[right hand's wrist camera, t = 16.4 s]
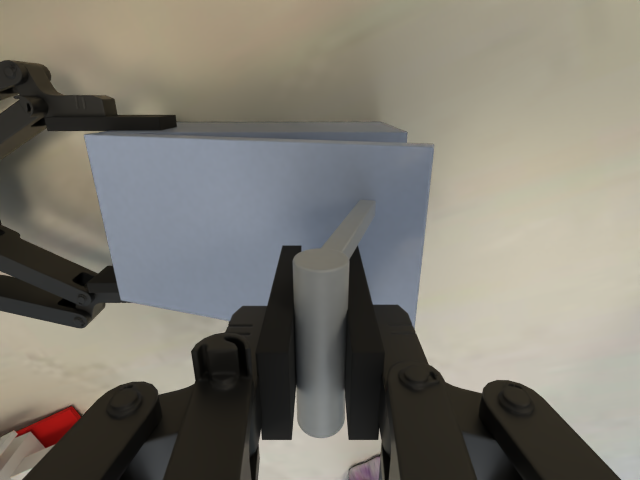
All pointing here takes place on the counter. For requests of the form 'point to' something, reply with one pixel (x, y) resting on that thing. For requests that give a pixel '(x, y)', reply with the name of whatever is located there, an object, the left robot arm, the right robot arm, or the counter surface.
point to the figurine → (366, 470)
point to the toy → (33, 443)
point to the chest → (286, 130)
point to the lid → (266, 234)
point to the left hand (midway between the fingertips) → (180, 206)
